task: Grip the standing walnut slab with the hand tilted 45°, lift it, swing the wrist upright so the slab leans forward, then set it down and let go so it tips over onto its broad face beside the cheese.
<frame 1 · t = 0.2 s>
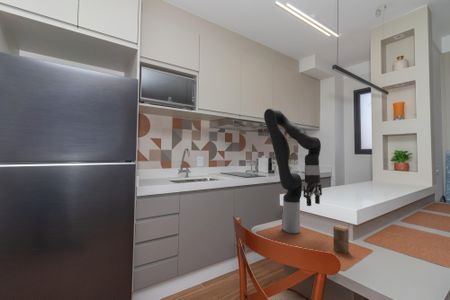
hand: (313, 204, 109), 18 cm above the table, tool pointing down, fingers open, 8 cm apart
slab: (340, 250, 95), on the table
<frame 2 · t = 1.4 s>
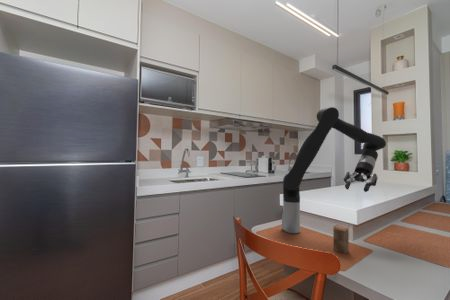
hand: (355, 189, 104), 27 cm above the table, tool tilted 45°, fingers open, 8 cm apart
nothing on the table moved.
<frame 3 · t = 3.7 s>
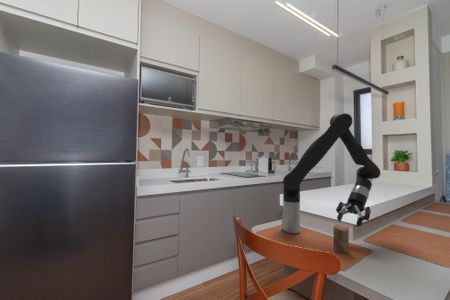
hand: (347, 223, 99), 11 cm above the table, tool tilted 45°, fingers open, 8 cm apart
nothing on the table moved.
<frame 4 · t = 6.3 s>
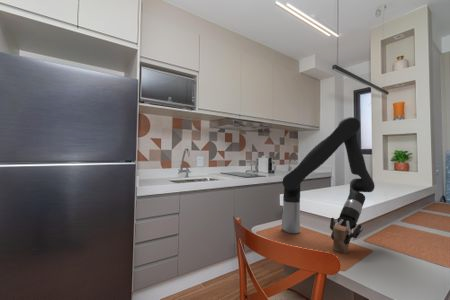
hand: (338, 241, 94), 5 cm above the table, tool tilted 45°, fingers closed on slab, 5 cm apart
slab: (340, 250, 95), on the table, touching gripper
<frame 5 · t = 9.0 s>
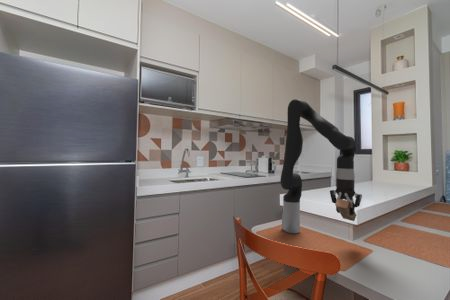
hand: (345, 213, 98), 16 cm above the table, tool pointing down, fingers closed on slab, 5 cm apart
slab: (349, 216, 100), point 14 cm above the table, tilted 45°, touching gripper
when the fingers open (5 cm above the table, at t = 12.0 s): slab drops 1 cm and tips over, point 2 cm above the table.
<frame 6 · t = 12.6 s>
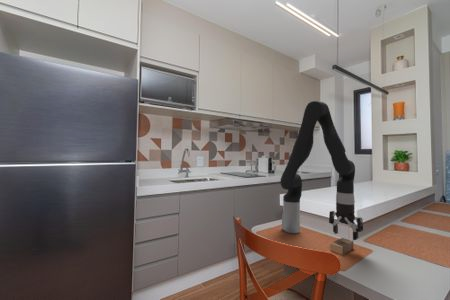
hand: (345, 236, 97), 6 cm above the table, tool pointing down, fingers open, 8 cm apart
slab: (347, 243, 100), point 2 cm above the table, tilted 90°
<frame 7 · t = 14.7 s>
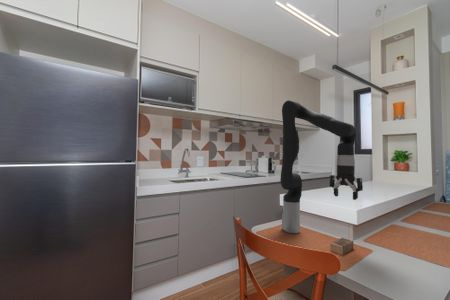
hand: (345, 197, 100), 23 cm above the table, tool pointing down, fingers open, 8 cm apart
nothing on the table moved.
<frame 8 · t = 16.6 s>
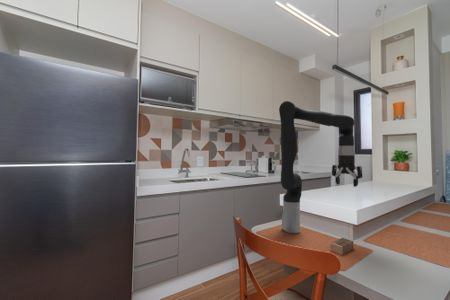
hand: (346, 185, 109), 28 cm above the table, tool pointing down, fingers open, 8 cm apart
nothing on the table moved.
at the end: slab tilted 90°; slab inside the target area (2.8 cm from its centre), point 1.6 cm above the table; the gripper is holding nothing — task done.
